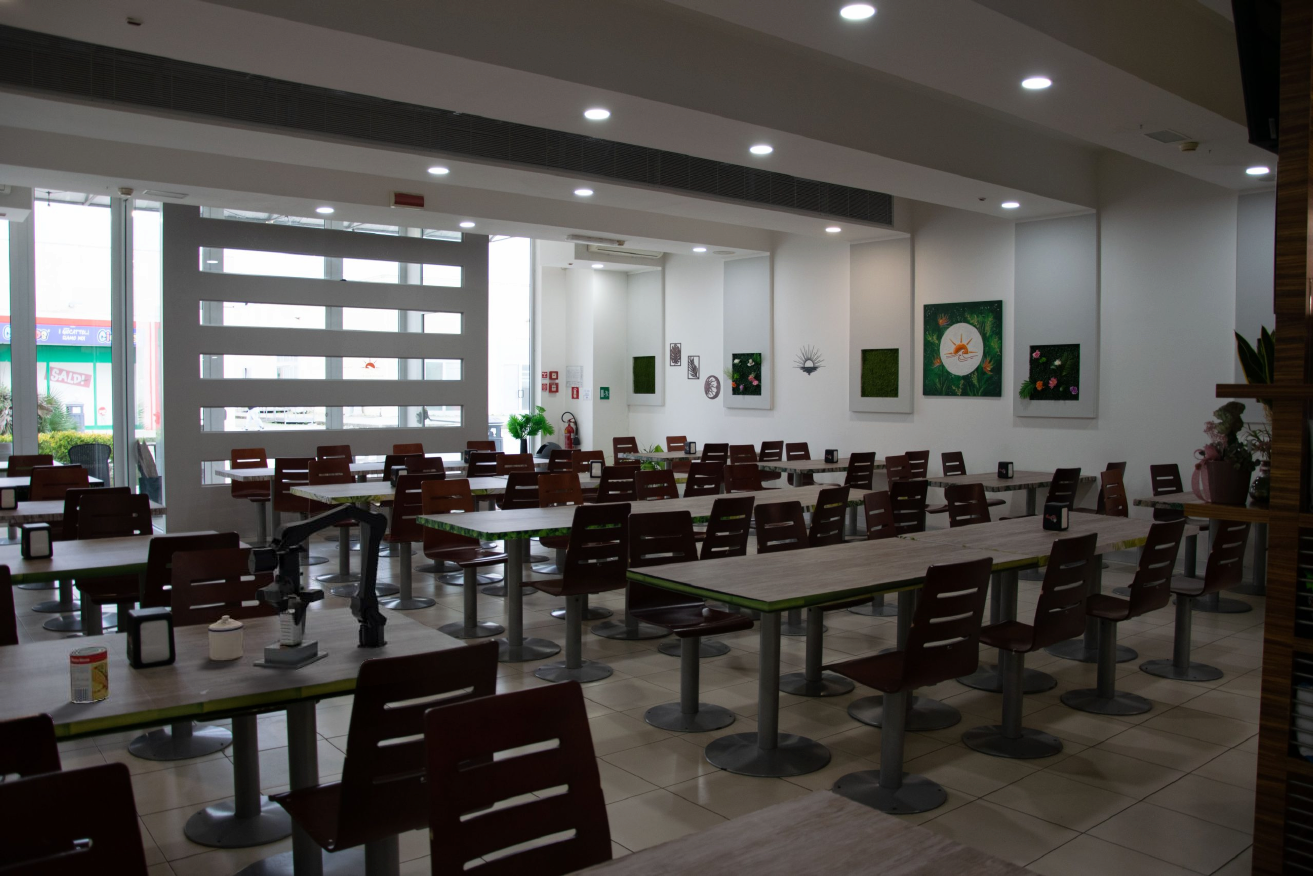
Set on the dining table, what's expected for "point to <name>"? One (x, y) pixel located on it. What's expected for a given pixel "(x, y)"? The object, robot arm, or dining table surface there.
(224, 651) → the teacup with lid
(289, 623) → the column
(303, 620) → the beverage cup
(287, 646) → the base
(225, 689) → the dining table surface
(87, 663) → the canned food
